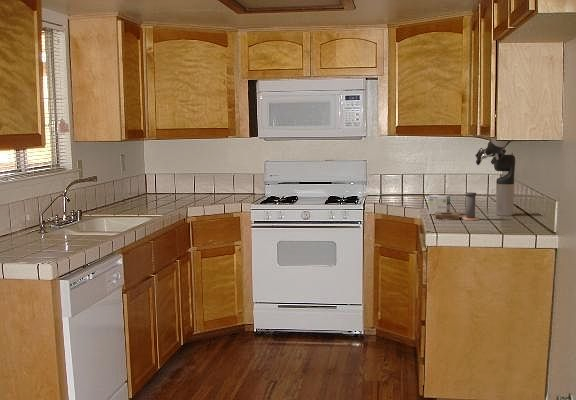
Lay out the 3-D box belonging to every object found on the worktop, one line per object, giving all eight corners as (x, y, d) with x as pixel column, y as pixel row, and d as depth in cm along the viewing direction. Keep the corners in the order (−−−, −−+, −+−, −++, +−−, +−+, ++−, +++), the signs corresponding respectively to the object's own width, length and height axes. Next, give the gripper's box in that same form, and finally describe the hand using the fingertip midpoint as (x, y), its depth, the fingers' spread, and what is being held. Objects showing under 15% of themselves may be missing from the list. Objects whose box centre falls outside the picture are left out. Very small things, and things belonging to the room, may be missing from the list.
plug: (465, 217, 338) (465, 192, 337) (475, 217, 337) (475, 192, 336) (466, 218, 333) (466, 193, 332) (476, 218, 332) (476, 193, 331)
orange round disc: (460, 218, 340) (460, 216, 340) (478, 218, 339) (478, 216, 339) (462, 220, 332) (462, 218, 332) (480, 220, 330) (480, 219, 330)
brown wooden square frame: (434, 216, 347) (434, 212, 347) (457, 216, 345) (457, 212, 345) (435, 219, 336) (435, 215, 335) (459, 220, 333) (459, 215, 333)
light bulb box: (450, 214, 357) (450, 195, 355) (447, 215, 351) (447, 196, 350) (431, 213, 362) (432, 194, 361) (428, 214, 356) (428, 195, 355)
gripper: (508, 135, 312) (493, 157, 325) (483, 135, 308) (469, 158, 321) (514, 146, 308) (499, 168, 320) (489, 147, 304) (475, 169, 316)
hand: (484, 163), depth 320 cm, fingers open, 8 cm apart
